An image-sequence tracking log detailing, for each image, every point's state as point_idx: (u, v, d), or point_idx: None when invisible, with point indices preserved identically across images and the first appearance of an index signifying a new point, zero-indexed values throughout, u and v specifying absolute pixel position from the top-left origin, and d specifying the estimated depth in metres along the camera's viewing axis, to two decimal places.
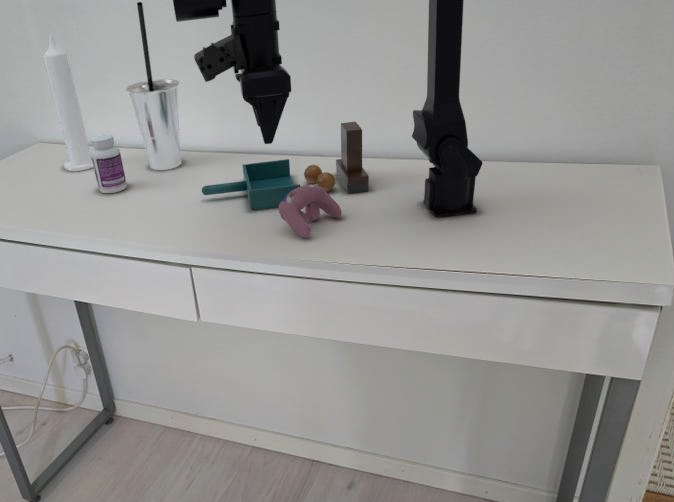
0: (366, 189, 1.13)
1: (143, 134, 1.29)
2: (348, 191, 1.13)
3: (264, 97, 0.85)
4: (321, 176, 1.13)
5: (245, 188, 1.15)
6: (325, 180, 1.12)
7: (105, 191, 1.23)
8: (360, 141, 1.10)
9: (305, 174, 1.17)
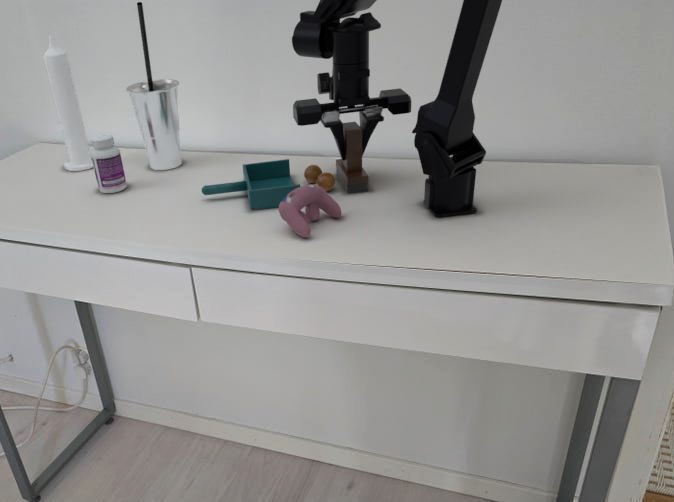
0: (366, 189, 1.13)
1: (143, 134, 1.29)
2: (348, 191, 1.13)
3: (321, 120, 1.11)
4: (321, 176, 1.13)
5: (245, 188, 1.15)
6: (325, 180, 1.12)
7: (105, 191, 1.23)
8: (360, 141, 1.10)
9: (305, 174, 1.17)
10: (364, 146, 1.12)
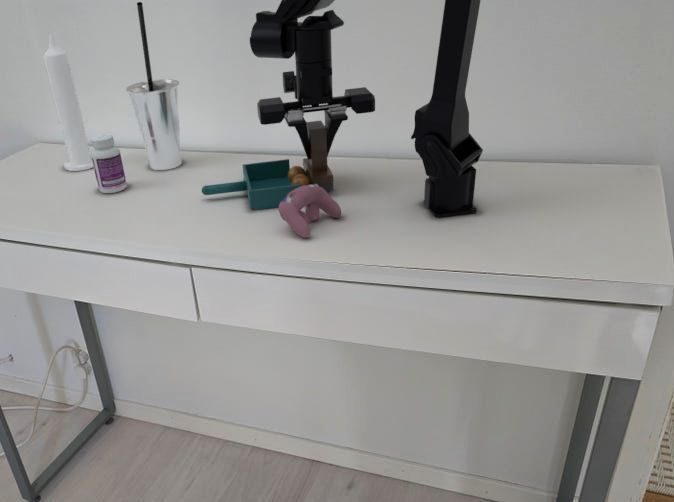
0: (331, 188, 1.12)
1: (143, 134, 1.29)
2: None
3: (286, 119, 1.10)
4: None
5: (245, 188, 1.15)
6: None
7: (105, 191, 1.23)
8: (324, 140, 1.10)
9: None
10: (329, 145, 1.12)
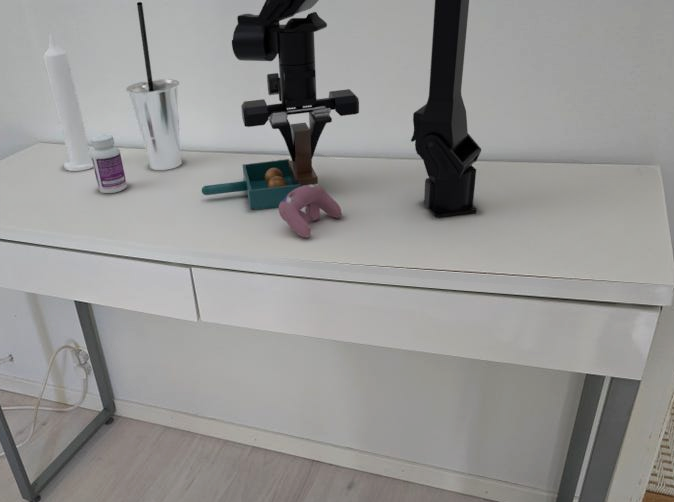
0: None
1: (143, 134, 1.29)
2: None
3: (270, 121, 1.10)
4: (280, 179, 1.12)
5: (245, 188, 1.15)
6: (280, 184, 1.12)
7: (105, 191, 1.23)
8: (309, 142, 1.10)
9: (277, 170, 1.16)
10: (313, 147, 1.12)
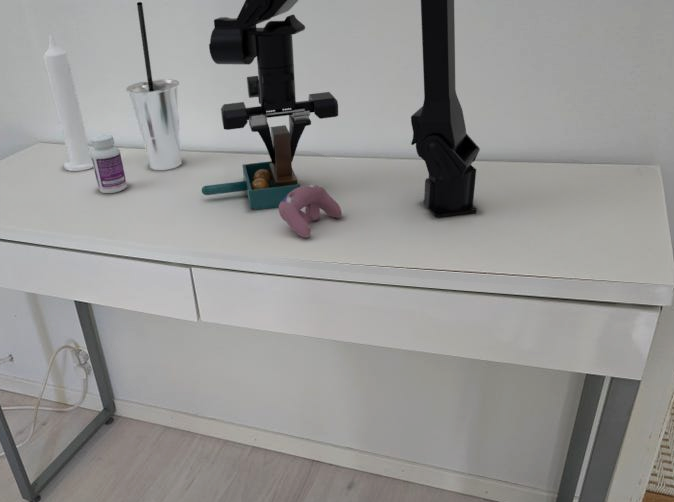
0: None
1: (143, 134, 1.29)
2: None
3: (250, 124, 1.10)
4: (251, 188, 1.13)
5: (245, 188, 1.15)
6: (255, 189, 1.12)
7: (105, 191, 1.23)
8: (288, 145, 1.10)
9: (256, 174, 1.16)
10: (293, 150, 1.12)
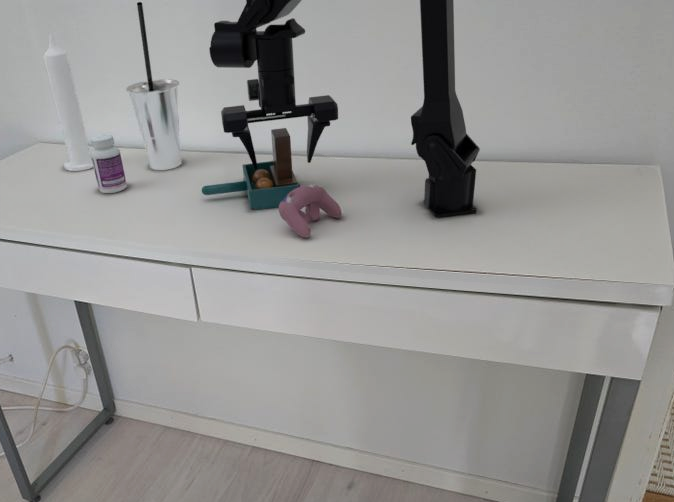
0: None
1: (143, 134, 1.29)
2: None
3: None
4: (257, 184, 1.12)
5: (245, 188, 1.15)
6: (261, 187, 1.12)
7: (105, 191, 1.23)
8: (289, 148, 1.10)
9: (255, 175, 1.16)
10: (312, 151, 1.12)
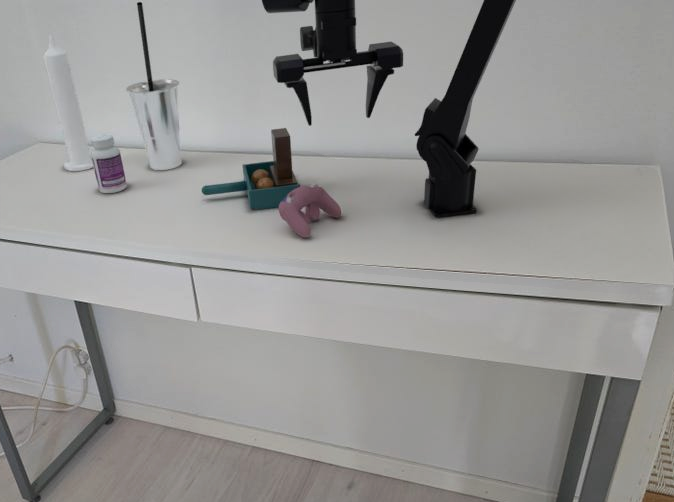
0: None
1: (143, 134, 1.29)
2: None
3: None
4: (259, 183, 1.12)
5: (245, 188, 1.15)
6: (263, 186, 1.12)
7: (105, 191, 1.23)
8: (289, 148, 1.10)
9: (253, 175, 1.16)
10: (372, 103, 1.02)
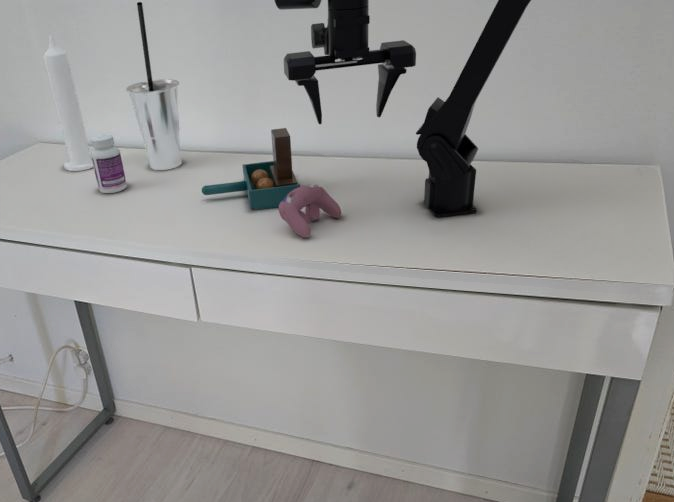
0: None
1: (143, 134, 1.29)
2: None
3: None
4: (259, 183, 1.12)
5: (245, 188, 1.15)
6: (262, 186, 1.12)
7: (105, 191, 1.23)
8: (289, 148, 1.10)
9: (252, 176, 1.16)
10: (383, 103, 1.01)
